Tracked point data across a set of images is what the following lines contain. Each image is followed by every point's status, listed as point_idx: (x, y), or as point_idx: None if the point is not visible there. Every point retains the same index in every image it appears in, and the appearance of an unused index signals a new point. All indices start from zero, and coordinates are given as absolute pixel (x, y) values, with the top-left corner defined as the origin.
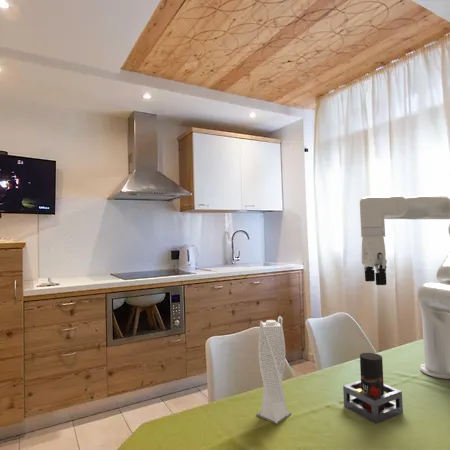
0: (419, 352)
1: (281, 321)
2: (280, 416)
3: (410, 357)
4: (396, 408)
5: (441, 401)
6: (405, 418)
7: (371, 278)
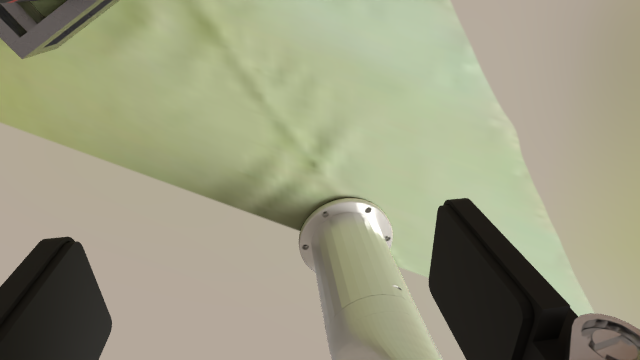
0: None
1: None
2: None
3: None
4: (23, 26)
5: (162, 173)
6: None
7: (444, 279)
